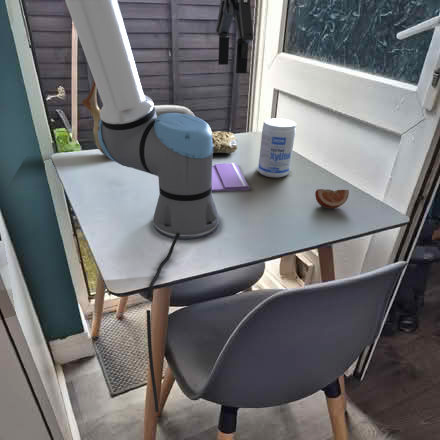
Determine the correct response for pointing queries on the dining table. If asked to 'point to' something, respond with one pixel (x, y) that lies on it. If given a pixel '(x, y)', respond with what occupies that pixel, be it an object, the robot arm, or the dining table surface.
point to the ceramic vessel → (94, 113)
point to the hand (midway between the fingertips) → (231, 68)
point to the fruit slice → (331, 197)
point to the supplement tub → (276, 147)
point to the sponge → (224, 142)
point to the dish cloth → (228, 178)
